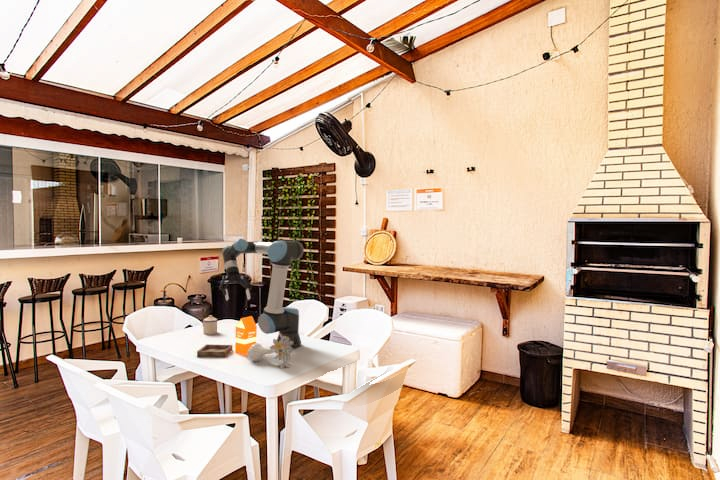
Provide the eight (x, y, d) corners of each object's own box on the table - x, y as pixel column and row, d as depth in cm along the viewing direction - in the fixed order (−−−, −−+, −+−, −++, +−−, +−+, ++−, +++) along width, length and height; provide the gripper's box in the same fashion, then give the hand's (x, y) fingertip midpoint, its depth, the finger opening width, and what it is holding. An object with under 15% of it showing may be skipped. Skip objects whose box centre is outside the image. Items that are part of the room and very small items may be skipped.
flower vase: (249, 375, 218) (288, 371, 208) (239, 342, 216) (277, 336, 206) (264, 364, 230) (301, 359, 220) (254, 333, 228) (291, 326, 218)
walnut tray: (232, 350, 240) (232, 345, 240) (224, 357, 226) (224, 351, 226) (206, 349, 240) (206, 344, 240) (197, 356, 226) (197, 351, 226)
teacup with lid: (220, 332, 280) (220, 315, 280) (209, 335, 273) (209, 317, 273) (208, 330, 287) (208, 313, 287) (197, 332, 279) (197, 315, 279)
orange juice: (234, 352, 236) (235, 317, 235) (246, 349, 243) (247, 315, 243) (244, 355, 231) (245, 319, 231) (256, 351, 239) (257, 316, 239)
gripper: (248, 272, 269) (255, 301, 259) (210, 272, 254) (215, 303, 244) (253, 266, 265) (260, 295, 255) (214, 265, 249) (220, 296, 239)
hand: (238, 299), depth 249 cm, fingers open, 13 cm apart
